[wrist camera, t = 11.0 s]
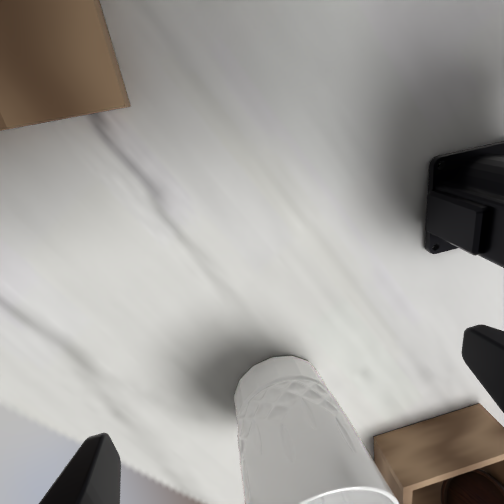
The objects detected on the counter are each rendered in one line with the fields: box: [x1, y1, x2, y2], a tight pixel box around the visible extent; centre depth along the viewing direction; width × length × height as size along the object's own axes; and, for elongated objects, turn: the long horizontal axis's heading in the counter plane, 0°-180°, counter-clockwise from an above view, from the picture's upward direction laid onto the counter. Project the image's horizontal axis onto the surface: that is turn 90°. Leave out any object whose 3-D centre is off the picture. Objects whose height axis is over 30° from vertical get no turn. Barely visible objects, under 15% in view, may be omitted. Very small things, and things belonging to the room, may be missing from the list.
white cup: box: [234, 356, 399, 504], centre depth 21 cm, size 8×8×10 cm
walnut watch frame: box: [374, 403, 504, 504], centre depth 31 cm, size 11×11×4 cm
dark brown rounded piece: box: [441, 469, 504, 504], centre depth 30 cm, size 8×8×7 cm
